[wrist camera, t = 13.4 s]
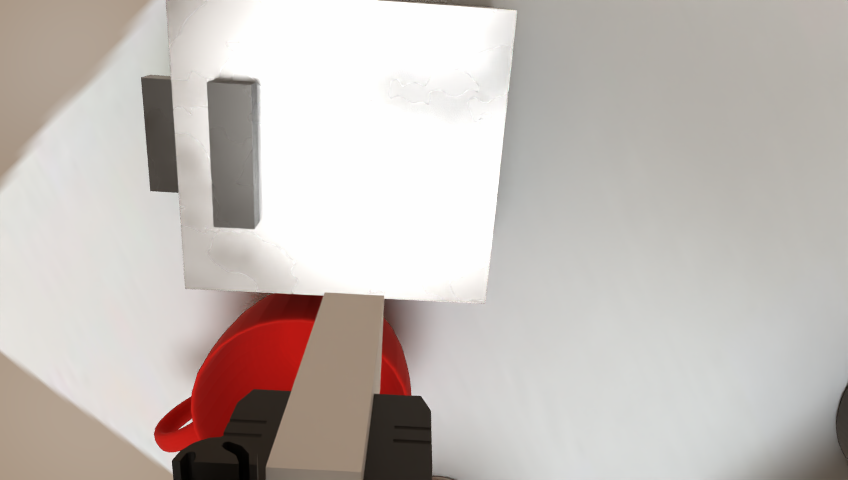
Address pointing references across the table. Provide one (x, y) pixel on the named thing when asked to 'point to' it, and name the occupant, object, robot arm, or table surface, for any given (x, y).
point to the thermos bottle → (440, 478)
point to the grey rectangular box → (172, 127)
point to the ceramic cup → (261, 367)
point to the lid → (339, 144)
